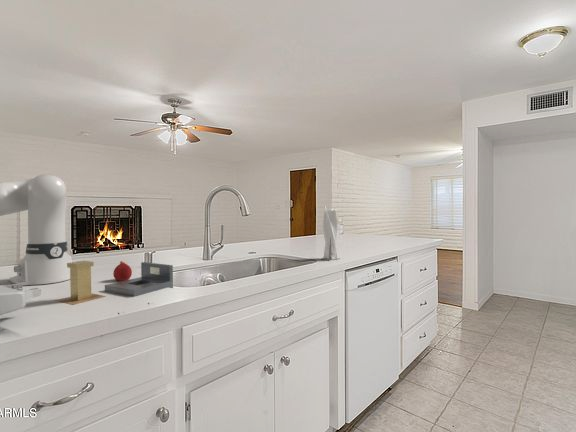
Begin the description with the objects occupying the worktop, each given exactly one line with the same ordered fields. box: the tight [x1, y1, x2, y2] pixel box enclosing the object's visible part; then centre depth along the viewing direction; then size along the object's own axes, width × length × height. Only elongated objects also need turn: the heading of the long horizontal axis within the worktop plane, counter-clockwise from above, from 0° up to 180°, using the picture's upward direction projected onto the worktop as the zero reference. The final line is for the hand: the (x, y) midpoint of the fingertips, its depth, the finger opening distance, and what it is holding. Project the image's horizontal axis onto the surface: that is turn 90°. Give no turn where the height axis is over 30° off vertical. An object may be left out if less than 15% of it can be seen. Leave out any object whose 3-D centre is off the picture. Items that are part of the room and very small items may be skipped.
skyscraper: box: [320, 205, 341, 261], centre depth 163 cm, size 8×8×28 cm
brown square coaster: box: [54, 292, 107, 306], centre depth 88 cm, size 9×9×1 cm
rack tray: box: [104, 261, 174, 297], centre depth 99 cm, size 14×14×8 cm
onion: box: [112, 260, 133, 282], centre depth 111 cm, size 6×6×8 cm
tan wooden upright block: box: [67, 260, 95, 301], centre depth 88 cm, size 5×5×10 cm
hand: (30, 289), depth 78 cm, fingers open, 8 cm apart
